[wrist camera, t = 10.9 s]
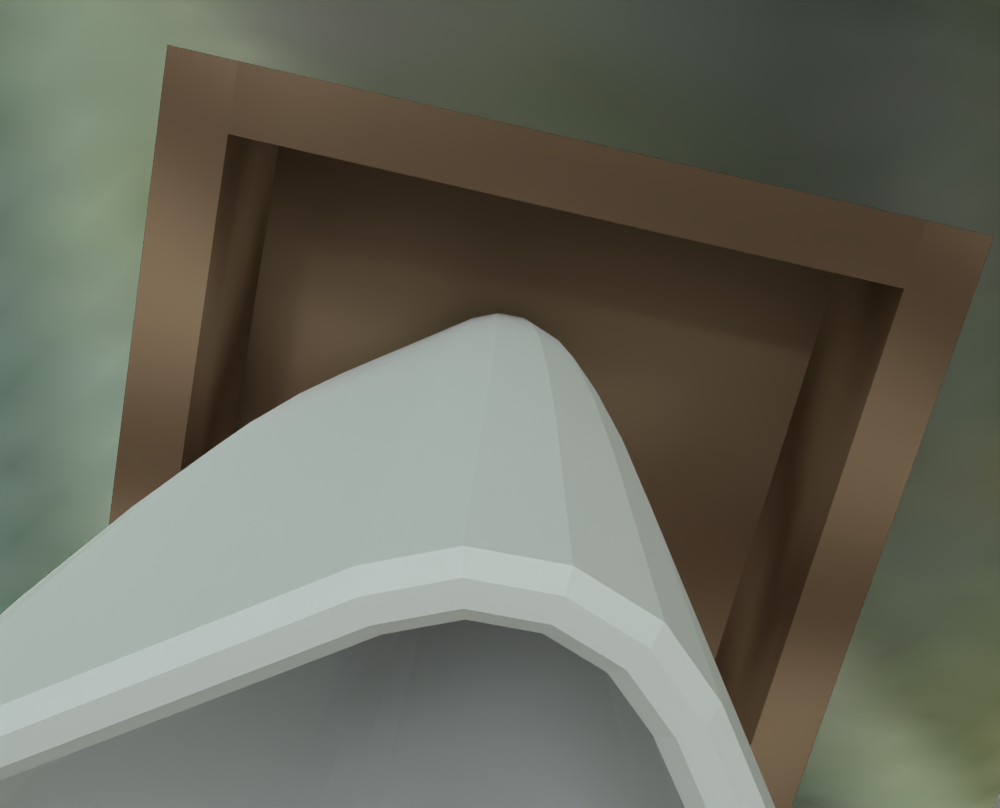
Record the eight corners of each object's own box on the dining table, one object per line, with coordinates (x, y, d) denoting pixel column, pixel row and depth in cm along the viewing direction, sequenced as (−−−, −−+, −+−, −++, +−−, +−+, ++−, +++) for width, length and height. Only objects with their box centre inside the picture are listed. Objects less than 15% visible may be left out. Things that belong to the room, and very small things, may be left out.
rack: (245, 69, 20) (167, 44, 16) (894, 219, 20) (993, 235, 16) (104, 1057, 27) (22, 1230, 23) (589, 1153, 27) (601, 1341, 23)
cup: (386, 648, 22) (130, 1542, 8) (247, 374, 21) (-395, 867, 6) (673, 539, 21) (979, 1323, 7) (552, 243, 20) (624, 468, 5)
